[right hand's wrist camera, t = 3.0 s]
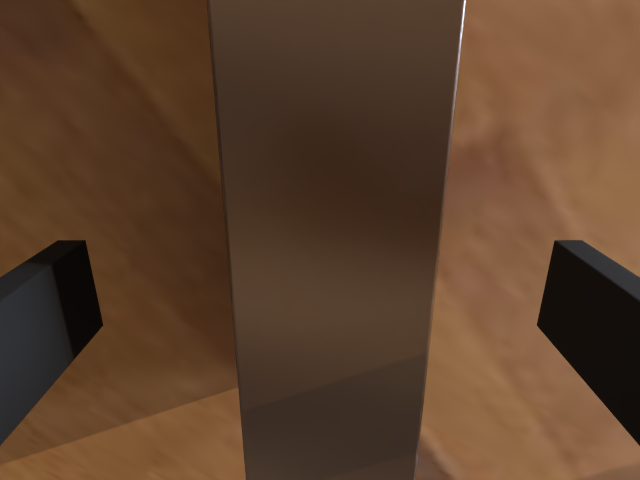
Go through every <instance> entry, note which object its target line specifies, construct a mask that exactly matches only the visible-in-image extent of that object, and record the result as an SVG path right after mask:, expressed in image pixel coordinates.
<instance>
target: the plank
mask: <svg viewBox="0 0 640 480" xmlns="http://www.w3.org/2000/svg"><path fill="white" fill-rule="evenodd" d="M465 8H466V0H207V12H208V25H209V37H210V49H211V61H212V73H213V85H214V97H215V109H216V122H217V134H218V146H219V158H220V170H221V182H222V194H223V206H224V218H225V231H226V243H227V255H228V267H229V279H230V291H231V303H232V315H233V328H234V340H235V352H236V364H237V376H238V388H239V400H240V412H241V425H242V437H243V449H244V461H245V473H246V480H415V478H416V468H417V459H418V450H419V440H420V431H421V421H422V412H423V403H424V393H425V384H426V374H427V365H428V356H429V346H430V337H431V327H432V318H433V309H434V299H435V290H436V280H437V271H438V262H439V252H440V243H441V233H442V224H443V215H444V205H445V196H446V186H447V177H448V168H449V158H450V149H451V139H452V130H453V121H454V111H455V102H456V92H457V83H458V74H459V64H460V55H461V45H462V36H463V27H464V17H465Z"/></svg>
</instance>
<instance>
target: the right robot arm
mask: <svg viewBox="0 0 640 480" xmlns="http://www.w3.org/2000/svg"><path fill="white" fill-rule="evenodd" d="M102 326H103V322H102V317H101V313H100V308H99V303H98V298H97V294H96V289H95V284H94V279H93V274H92V270H91V265H90V260H89V255H88V251H87V246H86V241H85V240H58V241H56V242H55V243H53V244H52V245H50V246H49V247H47V248H45V249H44V250H42V251H41V252H39V253H38V254H36V255H35V256H33V257H31V258H30V259H28V260H27V261H25V262H24V263H22V264H21V265H19V266H17V267H16V268H14V269H13V270H11V271H10V272H8V273H7V274H5V275H4V276H2V277H0V445H1V444H2V443H3V442H4V441H5V440H6V438H7V437H8V436H9V435H10V434H11V433H12V431H13V430H14V429H15V428H16V427H17V426H18V424H19V423H20V422H21V421H22V420H23V419H24V417H25V416H26V415H27V414H28V413H29V411H30V410H31V409H32V408H33V407H34V406H35V404H36V403H37V402H38V401H39V400H40V399H41V397H42V396H43V395H44V394H45V393H46V392H47V390H48V389H49V388H50V387H51V386H52V385H53V383H54V382H55V381H56V380H57V379H58V378H59V376H60V375H61V374H62V373H63V372H64V371H65V369H66V368H67V367H68V366H69V365H70V364H71V362H72V361H73V360H74V359H75V358H76V357H77V355H78V354H79V353H80V352H81V351H82V349H83V348H84V347H85V346H86V345H87V344H88V342H89V341H90V340H91V339H92V338H93V337H94V335H95V334H96V333H97V332H98V331H99V330H100V328H101V327H102ZM537 326H538V327H539V328H540V330H541V331H542V332H543V333H544V334H545V335H546V337H547V338H548V339H549V340H550V341H551V342H552V344H553V345H554V346H555V347H556V348H557V349H558V351H559V352H560V353H561V354H562V355H563V357H564V358H565V359H566V360H567V361H568V362H569V364H570V365H571V366H572V367H573V368H574V369H575V371H576V372H577V373H578V374H579V375H580V376H581V378H582V379H583V380H584V381H585V382H586V383H587V385H588V386H589V387H590V388H591V389H592V390H593V392H594V393H595V394H596V395H597V396H598V397H599V399H600V400H601V401H602V402H603V403H604V404H605V406H606V407H607V408H608V409H609V410H610V411H611V413H612V414H613V415H614V416H615V417H616V419H617V420H618V421H619V422H620V423H621V424H622V426H623V427H624V428H625V429H626V430H627V431H628V433H629V434H630V435H631V436H632V437H633V438H634V440H635V441H636V442H637V443H638V444H639V445H640V277H638V276H636V275H635V274H633V273H632V272H630V271H629V270H627V269H626V268H624V267H623V266H621V265H619V264H618V263H616V262H615V261H613V260H612V259H610V258H609V257H607V256H605V255H604V254H602V253H601V252H599V251H598V250H596V249H595V248H593V247H591V246H590V245H588V244H587V243H585V242H584V241H582V240H555V241H554V246H553V251H552V255H551V260H550V265H549V270H548V274H547V279H546V284H545V289H544V294H543V298H542V303H541V308H540V313H539V317H538V322H537Z"/></svg>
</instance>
